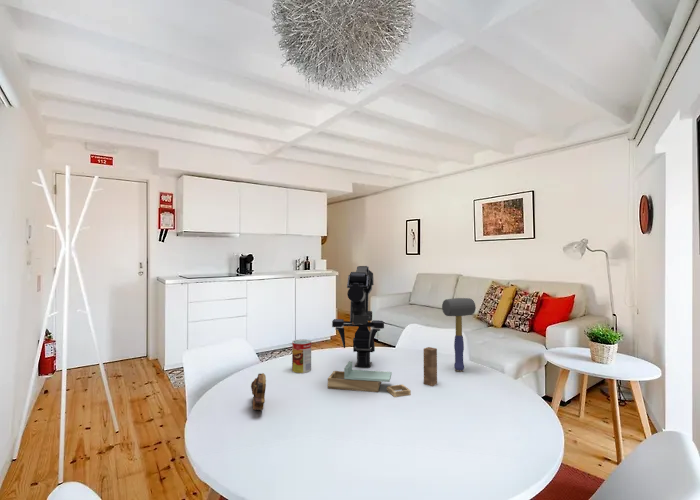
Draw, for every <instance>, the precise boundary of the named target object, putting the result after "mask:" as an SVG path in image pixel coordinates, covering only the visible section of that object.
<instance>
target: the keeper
mask: <svg viewBox="0 0 700 500" xmlns="http://www.w3.org/2000/svg"><path fill="white" fill-rule="evenodd" d="M386 391H387V393H389V394H390V395H392V396H393V397H394V398H397V397H404V396H411V393H412V391H411V389H410V388H408V387H406V386H405V385H404V384H395V385H394V384H393V385H386Z"/></svg>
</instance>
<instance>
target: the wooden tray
mask: <svg viewBox="0 0 700 500" xmlns="http://www.w3.org/2000/svg"><path fill="white" fill-rule="evenodd" d="M381 384H382V382H381V381H366V380H351V379H344V371H341V370H333V371H332V373H331V374H330V375H329V376H328V378H327V389H329V390H330V389H331V390H341V391H342V390H343V391H344V390H345V391H356V392H368V393H370V392H371V393H379V391H380V387H381Z"/></svg>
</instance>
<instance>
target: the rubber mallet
mask: <svg viewBox="0 0 700 500" xmlns="http://www.w3.org/2000/svg"><path fill="white" fill-rule="evenodd" d="M476 307H477V306H476V302H475V301H474V299H473V298H469V297H467V298H466V297H465V298H464V297H455V298H454V297H453V298H447V299H444V300H443V301H442V305H441V309H442V313H443V314H444V315H445V316H446V317H455V336H454V343H453V347H454V366H453V368H454V370H455V371H456V372H463V371H464V369H465V363H464V350H465V344H464V341H465V340H464V337H463V336H464V335H463V318H462V317H463V316H464V317H465V316H471V315H473V314H475V312H476Z"/></svg>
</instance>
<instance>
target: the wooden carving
mask: <svg viewBox="0 0 700 500" xmlns="http://www.w3.org/2000/svg"><path fill="white" fill-rule="evenodd" d="M266 378H267V377H266V374H265V373H263V372H262V373H258V374H257V377H256V378H254V380H253V381H251V384H250V389H251V394H252V395H253V397H252V409H253V410H254V411H255V410H257V411H263V410H264V405H265V403H266V401H265V397H266V396H265V395H266V387H267V379H266Z"/></svg>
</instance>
